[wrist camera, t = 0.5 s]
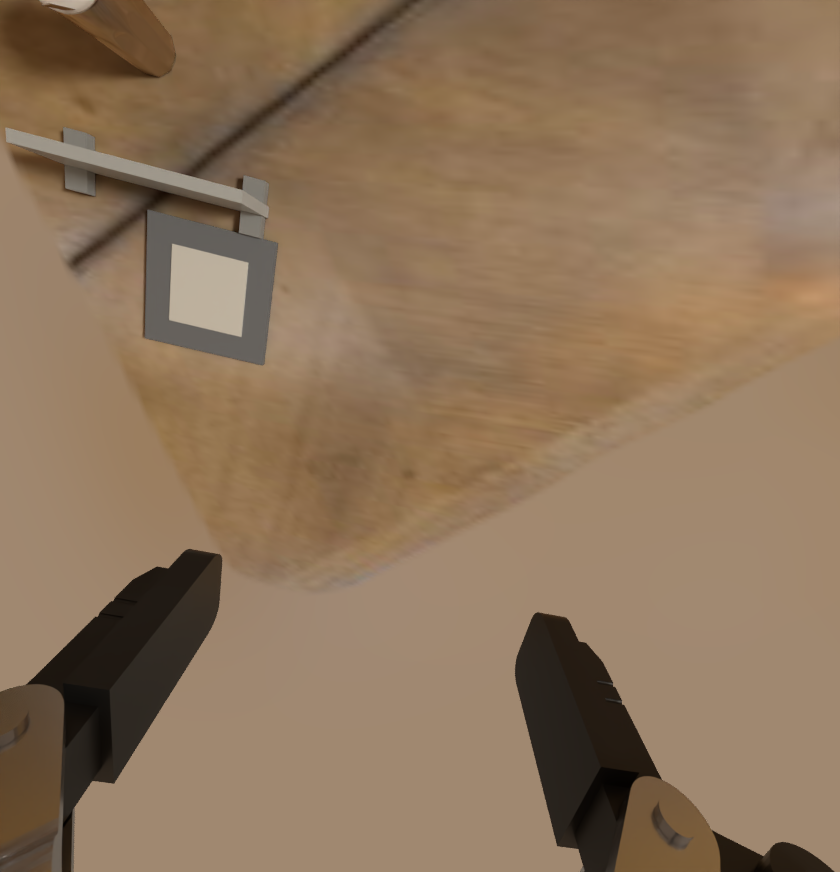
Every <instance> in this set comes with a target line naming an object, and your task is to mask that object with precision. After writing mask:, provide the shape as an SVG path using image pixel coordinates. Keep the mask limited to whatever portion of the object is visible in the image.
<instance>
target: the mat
mask: <svg viewBox="0 0 840 872" xmlns="http://www.w3.org/2000/svg"><path fill="white" fill-rule="evenodd" d="M277 248H278V243H276V242H272V241H268V240H264V239H260V238H256V237H253V236H249V235H245V234H241V233H237V232H233V231H229V230H225V229H221V228H217V227H214V226H210V225H206V224H202V223H198V222H194V221H190V220H186V219H182V218H178V217H174V216H171V215H167V214H163V213H159V212H155V211H151V210H148V212H147V259H146V306H145V338H147V339H151V340H155V341H160V342H164V343H168V344H173V345H177V346H181V347H186V348H190V349H194V350H199V351H203V352H207V353H212V354H216V355H220V356H225V357H229V358H233V359H238V360H242V361H246V362H251V363H255V364H259V365H264V361H265V352H266V343H267V335H268V326H269V317H270V309H271V300H272V291H273V283H274V274H275V265H276V257H277Z"/></svg>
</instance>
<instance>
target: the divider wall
mask: <svg viewBox="0 0 840 872" xmlns="http://www.w3.org/2000/svg"><path fill="white" fill-rule="evenodd" d="M63 134H64V143H62V142H59V141H55V140H51V139H47V138H44V137H40V136H36V135H32V134H28V133H25V132H21V131H17V130H13V129H10V128H6V141H7V142H8V143H11V144H13V145H16V146H18V147H21V148H23V149H26V150H29V151H31V152H34V153H36V154H39V155H41V156H44V157H46V158H49V159H51V160H54V161H56V162H59V163H62V164H64V165H65V188H66V189H69V190H72V191H76V192H80V193H83V194H87V195H91V196H95V174H99V175H103V176H107V177H111V178H114V179H118V180H122V181H126V182H130V183H134V184H137V185H141V186H145V187H149V188H153V189H157V190H161V191H164V192H168V193H172V194H176V195H180V196H184V197H187V198H191V199H195V200H199V201H203V202H207V203H210V204H214V205H218V206H222V207H226V208H230V209H233V210H237V211H241V213H240V225H239V233H241V234H245V235H249V236H253V237H256V238H260V239H263V236H264V226H265V218H268V213H269V207H268V206H267V197H268V188H269V184H268V183H267V182H266V181H263V180H260V179H256V178H252V177H248V176H245V175H244V178H243V190H240V189H236V188H232V187H229V186H225V185H221V184H217V183H214V182H210V181H206V180H202V179H198V178H195V177H191V176H187V175H183V174H180V173H176V172H172V171H168V170H164V169H161V168H157V167H153V166H149V165H146V164H142V163H138V162H134V161H130V160H127V159H123V158H119V157H115V156H112V155H108V154H104V153H100V152H96V151H95V137H93V136H91V135H89V134H87V133H84V132H80V131H77V130H73V129H69V128H65V127H63Z"/></svg>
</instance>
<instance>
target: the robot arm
mask: <svg viewBox="0 0 840 872" xmlns="http://www.w3.org/2000/svg"><path fill="white" fill-rule="evenodd" d="M221 571H222V557H221V555H220V554H215V553H209V552H203V551H198V550H192V549H188V550H186V551H184V552H183V553H182V554H181V556H180V557H179V558H178V559H177V560H176V561H175V562H174V563H173V564H172V565H171V566H170V567H169V568H168V569H167V568H162V567H155V568H154V569H152V570H150V571H148V572H146V573H144V574H143V575H141V576H139V577H137V578H135V579H133V580H132V581H131V582H130V583H129V584H128V585H127V586H126V587H125V588H124V589H123V590H122V591H121V592H120V593H119V594H118V595H117V596H116V597H115V599H114V601H111V602H110V603H109V604H108V605H107V606H106V607H105V608H104V609H103V610H102V611H101V612H100V613H99V616H98V617H95V618H94V619H93V620H92V621H91V622H90V623H89V624H88V625H87V626H86V627H85V628H84V629H82V631H80V633H78V634H77V636H75V637H74V639H72V640H71V641H70V642H69V643H68V644H67V646H65V647H64V648H63V649H62V650H61V651H60V652H59V653H58V654H57V655H56V656H55V657H54V658H53V659H52V660H51V661H50V662H49V663H48V664H47V665H46V666H45V667H44V668H43V669H42V670H41V671H40V672H39V673H38V674H37V675H36V676H35V677H34V678H33V679H32V680H31V681H29V682H28V684H26V685H23V686H18V687H14V688H10V689H7V690H4V691H1V692H0V872H74V823H75V822H74V821H75V809H74V807H75V806H76V804H77V803H78V801H79V800H80V798H81V797H82V795H83V794H84V792H85V791H86V789H87V788H88V786H89V785H90V783H91V782H92V781H99V782H106V783H115V781H116V780H117V778H118V776H119V775H120V773H121V772H122V770H123V768H124V767H125V765H126V764H127V762H128V760H129V759H130V757H131V756H132V754H133V752H134V751H135V749H136V748H137V746H138V744H139V743H140V741H141V740H142V738H143V736H144V735H145V733H146V732H147V730H148V729H149V727H150V725H151V724H152V722H153V721H154V719H155V717H156V716H157V714H158V713H159V711H160V709H161V708H162V706H163V704H164V703H165V701H166V700H167V698H168V697H169V695H170V693H171V692H172V690H173V689H174V687H175V686H176V684H177V682H178V681H179V679H180V678H181V676H182V674H183V673H184V671H185V670H186V668H187V666H188V665H189V663H190V661H191V660H192V658H193V657H194V655H195V653H196V652H197V650H198V649H199V647H200V646H201V644H202V643H203V641H204V639H205V638H206V636H207V635H208V633H209V631H210V629H211V628H212V625H213V623H214V621H215V618H216V615H217V612H218V608H219V600H220V586H221ZM515 677H516V684H517V688H518V692H519V696H520V700H521V704H522V708H523V712H524V716H525V720H526V724H527V728H528V732H529V736H530V740H531V744H532V748H533V751H534V756H535V759H536V764H537V768H538V771H539V775H540V779H541V783H542V787H543V791H544V795H545V799H546V803H547V807H548V811H549V815H550V819H551V823H552V827H553V831H554V835H555V839H556V843H557V846H560V847H568V848H576V849H579V853H580V856H581V860H582V863H583V867H582V869H581V871H580V872H834V871H833V870H832V869H831V868H830V867H828V866H827V865H826V864H825V863H823V862H822V861H821V860H820V859H818V858H817V857H815V856H814V855H813V854H811V853H810V852H808V851H806V850H805V849H803V848H801V847H798V846H796V845H793V844H790V843H786V842H780V843H776V844H775V845H773V846H772V847H771V849H770V850H769V851H768V852H767V853H766V854H765V856H762V855H760V854H757V853H756V852H754V851H751V850H750V849H748V848H746V847H744V846H742V845H740V844H738V843H736V842H734V841H732V840H730V839H727V838H726V837H724V836H722V835H720V834H718V833H716V832H714V831H713V830H711V828H710V826H709V824H708V823H707V821H706V820H705V818H704V817H703V815H702V814H701V813H700V811H699V810H698V809H697V808H696V806H695V805H694V804H693V803H692V802H691V801H690V800H689V799H688V798H687V797H686V796H685V795H684V794H683V793H681V792H680V791H679V790H678V789H677V788H675V787H674V786H672V785H671V784H669V783H667V782H665V781H663V780H662V779H661V777H660V775H659V773H658V771H657V769H656V767H655V765H654V763H653V761H652V759H651V757H650V755H649V753H648V751H647V749H646V747H645V745H644V743H643V741H642V739H641V737H640V735H639V733H638V731H637V729H636V728H635V726H634V724H633V721H632V719H631V717H630V716H629V714H628V712H627V710H626V708H625V706H624V705H622V700H621V698H620V696H619V694H618V692H617V690H616V688H615V687H613V682H612V680H611V678H610V676H609V674H608V672H607V670H606V668H605V666H604V664H603V662H602V661H601V660H600V659H599V657H598V656H597V655H596V654H595V653H594V652H593V650H592V649H591V648H590V647H589V646H588V645H587V644H586V643H584V642H579V641H578V639H577V637H576V634H575V632H574V630H573V628H572V626H571V624H570V622H569V620H568V619H567V618H565V617H560V616H555V615H549V614H543V613H535V614H534V615H533V617H532V619H531V622H530V624H529V627H528V630H527V632H526V635H525V637H524V640H523V642H522V645H521V647H520V650H519V653H518V655H517V659H516V665H515Z"/></svg>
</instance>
